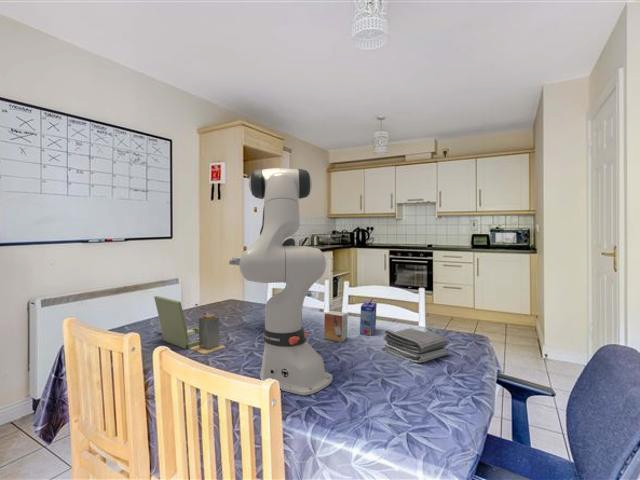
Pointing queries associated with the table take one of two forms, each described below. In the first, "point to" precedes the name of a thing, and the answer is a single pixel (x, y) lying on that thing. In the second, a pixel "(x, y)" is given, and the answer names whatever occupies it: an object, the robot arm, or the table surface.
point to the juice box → (368, 318)
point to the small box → (335, 326)
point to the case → (174, 323)
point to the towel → (414, 345)
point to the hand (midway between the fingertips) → (237, 263)
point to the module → (209, 332)
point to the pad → (206, 350)
